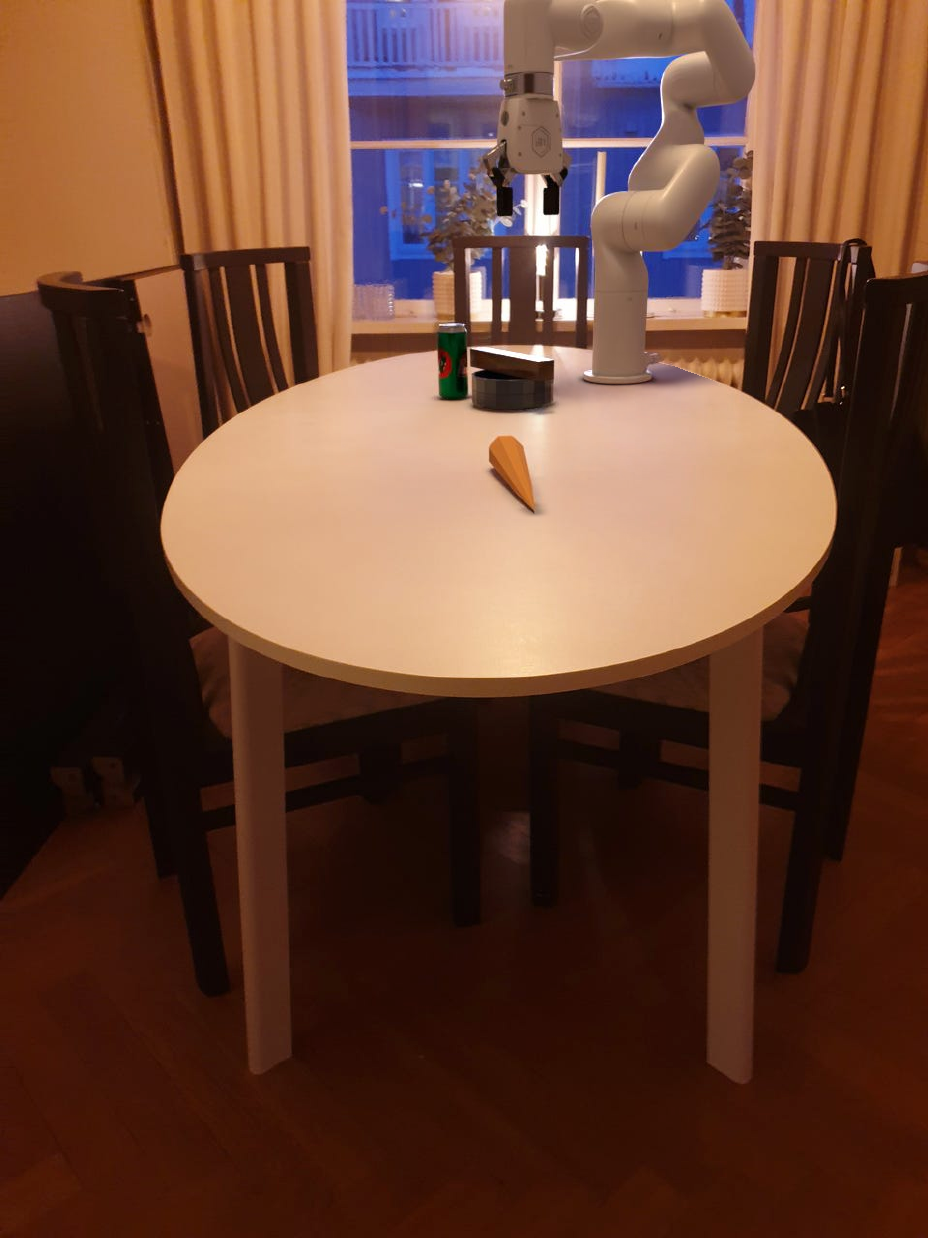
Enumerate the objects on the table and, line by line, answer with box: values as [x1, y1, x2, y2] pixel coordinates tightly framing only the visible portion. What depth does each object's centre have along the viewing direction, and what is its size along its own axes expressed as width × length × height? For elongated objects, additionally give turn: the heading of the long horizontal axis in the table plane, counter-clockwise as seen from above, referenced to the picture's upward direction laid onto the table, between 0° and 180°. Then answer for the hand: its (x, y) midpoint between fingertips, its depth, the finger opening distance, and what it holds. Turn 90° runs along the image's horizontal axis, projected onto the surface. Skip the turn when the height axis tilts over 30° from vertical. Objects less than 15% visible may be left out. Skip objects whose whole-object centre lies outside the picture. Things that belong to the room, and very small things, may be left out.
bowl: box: [471, 369, 555, 412], centre depth 147 cm, size 13×13×5 cm
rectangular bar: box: [469, 346, 555, 382], centre depth 146 cm, size 3×20×3 cm, turn 31°
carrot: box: [488, 435, 535, 511], centre depth 102 cm, size 20×4×4 cm, turn 7°
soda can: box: [436, 322, 469, 401], centre depth 152 cm, size 5×5×12 cm
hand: (528, 215), depth 142 cm, fingers open, 9 cm apart
